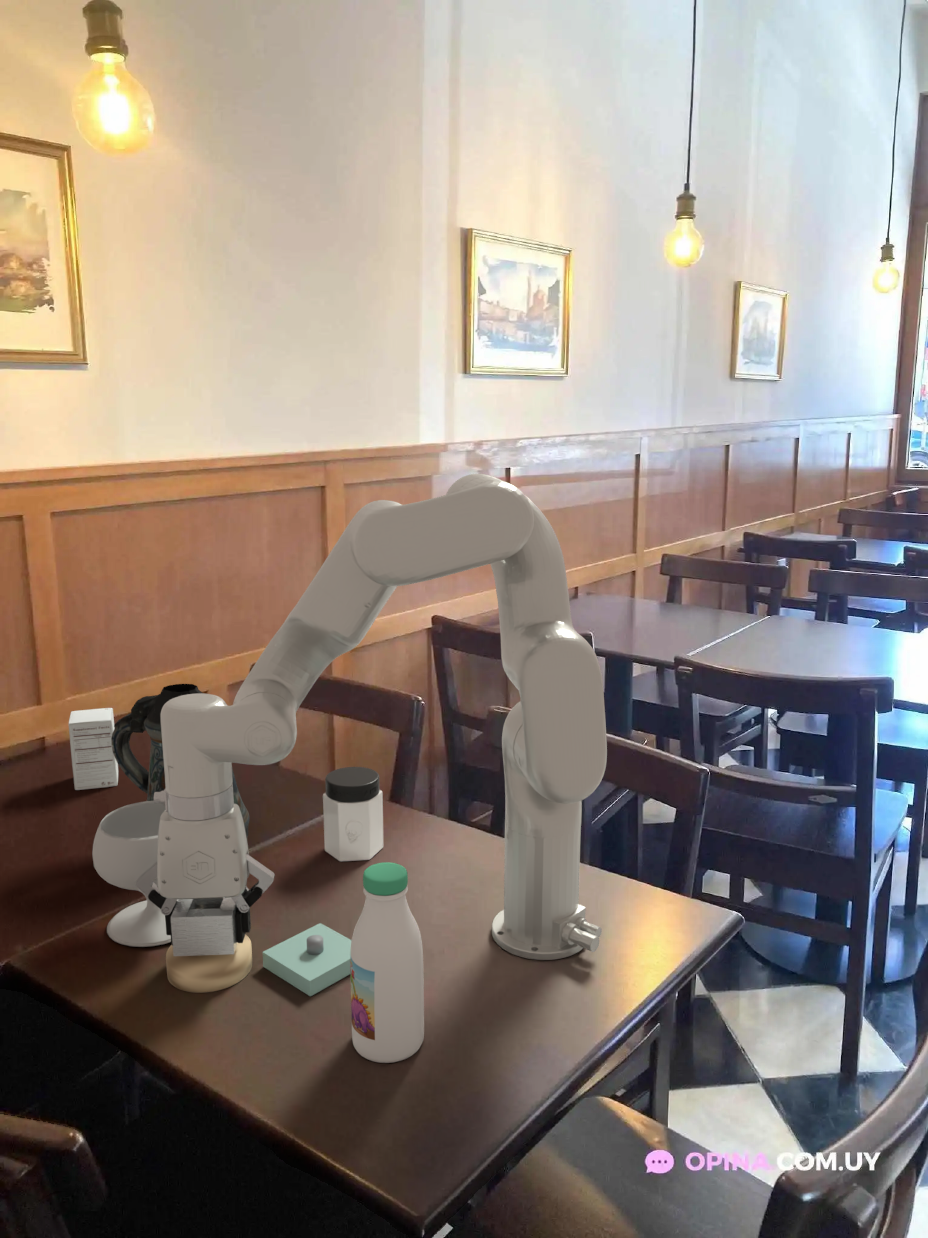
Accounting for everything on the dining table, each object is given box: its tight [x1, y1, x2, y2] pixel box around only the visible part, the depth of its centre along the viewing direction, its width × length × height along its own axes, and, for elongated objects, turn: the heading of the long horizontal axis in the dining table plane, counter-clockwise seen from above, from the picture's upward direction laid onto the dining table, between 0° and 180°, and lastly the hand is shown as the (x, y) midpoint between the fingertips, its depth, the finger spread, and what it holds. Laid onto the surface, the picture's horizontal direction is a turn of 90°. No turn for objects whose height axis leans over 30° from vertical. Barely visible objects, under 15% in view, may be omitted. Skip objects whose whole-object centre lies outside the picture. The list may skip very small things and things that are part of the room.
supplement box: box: [68, 707, 119, 791], centre depth 174 cm, size 7×7×13 cm
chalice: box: [91, 800, 179, 948], centre depth 126 cm, size 14×14×15 cm
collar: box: [171, 897, 238, 956], centre depth 116 cm, size 7×7×5 cm
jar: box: [322, 766, 384, 862], centre depth 147 cm, size 9×8×12 cm
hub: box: [165, 933, 253, 994], centre depth 117 cm, size 10×10×7 cm
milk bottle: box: [349, 861, 425, 1064], centre depth 102 cm, size 8×8×20 cm
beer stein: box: [111, 683, 250, 839], centre depth 148 cm, size 16×19×25 cm
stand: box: [262, 922, 352, 997], centre depth 118 cm, size 9×9×4 cm
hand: (209, 937), depth 117 cm, fingers closed on collar, 7 cm apart
